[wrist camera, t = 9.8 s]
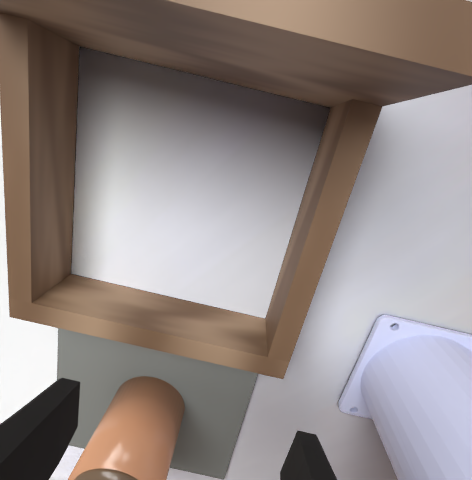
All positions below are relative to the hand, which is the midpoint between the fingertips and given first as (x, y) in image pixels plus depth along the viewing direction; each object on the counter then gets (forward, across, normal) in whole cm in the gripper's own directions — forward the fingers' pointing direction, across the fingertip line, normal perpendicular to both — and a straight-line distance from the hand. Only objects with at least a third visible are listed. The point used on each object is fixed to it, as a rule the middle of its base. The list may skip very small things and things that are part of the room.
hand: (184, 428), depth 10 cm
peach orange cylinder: (+9, +3, +11) cm, 14 cm away
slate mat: (+9, +3, +11) cm, 15 cm away
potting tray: (+9, +3, -5) cm, 11 cm away
